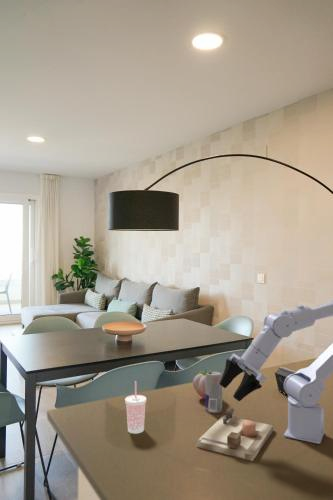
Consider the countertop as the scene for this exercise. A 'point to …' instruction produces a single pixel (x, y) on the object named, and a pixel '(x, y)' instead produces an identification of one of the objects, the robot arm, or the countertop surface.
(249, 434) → the terracotta button
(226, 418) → the grey rectangular block
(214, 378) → the energy drink
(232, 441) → the walnut slider
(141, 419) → the beverage cup
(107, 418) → the countertop surface
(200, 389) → the decorative fruit
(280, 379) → the electrical switch
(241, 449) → the control panel
